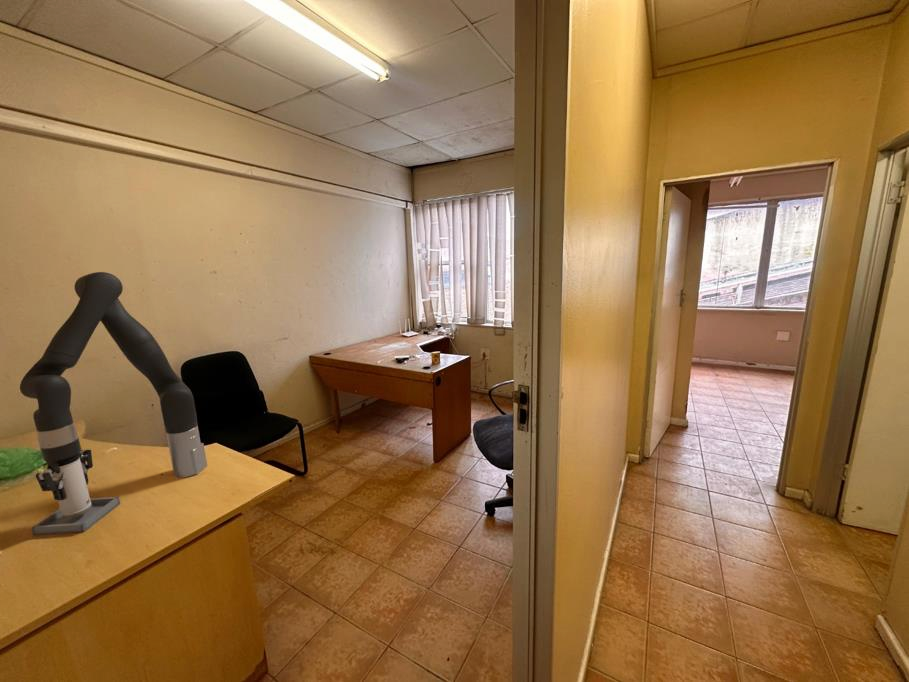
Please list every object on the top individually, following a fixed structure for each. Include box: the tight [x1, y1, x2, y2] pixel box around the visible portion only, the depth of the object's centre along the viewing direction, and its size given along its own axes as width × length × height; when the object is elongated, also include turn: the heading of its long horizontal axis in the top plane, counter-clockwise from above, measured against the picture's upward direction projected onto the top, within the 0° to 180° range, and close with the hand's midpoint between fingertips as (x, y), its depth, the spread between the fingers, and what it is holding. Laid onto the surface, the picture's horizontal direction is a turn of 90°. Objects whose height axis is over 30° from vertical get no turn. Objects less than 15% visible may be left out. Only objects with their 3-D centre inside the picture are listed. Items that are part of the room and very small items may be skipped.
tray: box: [30, 496, 121, 536], centre depth 106 cm, size 13×12×2 cm
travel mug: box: [51, 454, 92, 518], centre depth 104 cm, size 6×7×20 cm
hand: (73, 491), depth 105 cm, fingers closed on travel mug, 6 cm apart
